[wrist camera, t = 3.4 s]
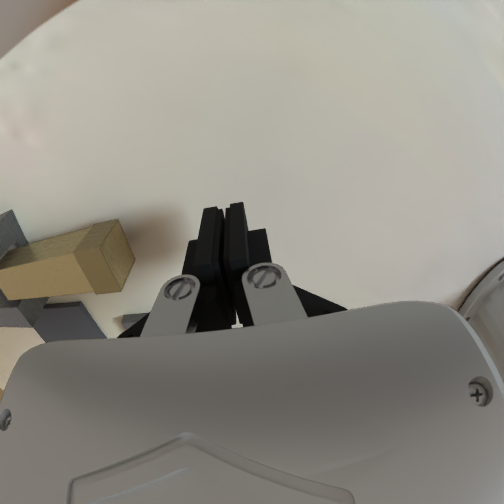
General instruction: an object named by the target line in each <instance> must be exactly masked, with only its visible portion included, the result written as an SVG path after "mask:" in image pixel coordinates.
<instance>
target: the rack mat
mask: <svg viewBox="0 0 504 504" xmlns="http://www.w3.org/2000/svg"><path fill="white" fill-rule="evenodd" d="M33 328H34V329H35V330H36V331H37V333H38V334H39V335H40V336H41V338H42V339H43V340H44V341H45V342H46V343H48V342H53V341H60V340H79V339H107V338H106V337H105V335H104V334H103V333H102V331H101V330H100V329H99V327H98V326H97V324H96V323H95V322H94V320H93V319H92V317H91V316H90V314H89V313H88V311H87V310H86V308H85V307H84V305H83V304H82V302H72V303H60V304H47V305H44V307H43V309H42V311H41V312H40V314H39V316H38V318H37V320H36V322H35V323H34V325H33Z"/></svg>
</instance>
